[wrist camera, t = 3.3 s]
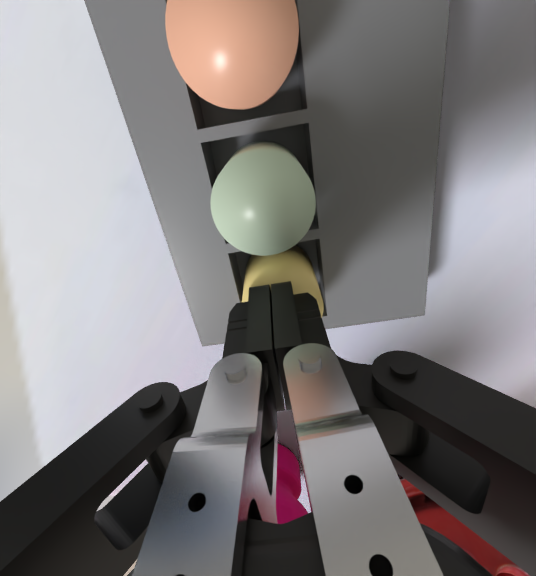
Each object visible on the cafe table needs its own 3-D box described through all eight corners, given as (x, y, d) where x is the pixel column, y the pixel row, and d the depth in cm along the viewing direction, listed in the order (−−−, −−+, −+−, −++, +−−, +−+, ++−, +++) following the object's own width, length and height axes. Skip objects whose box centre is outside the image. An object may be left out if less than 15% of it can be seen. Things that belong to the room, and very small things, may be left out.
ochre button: (309, 236, 13) (319, 267, 11) (316, 297, 15) (327, 337, 12) (239, 247, 14) (233, 280, 11) (252, 306, 15) (249, 347, 13)
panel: (424, -81, 10) (460, -124, 8) (406, 292, 16) (424, 315, 14) (105, -8, 10) (73, -33, 9) (208, 321, 17) (202, 346, 15)
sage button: (299, 133, 11) (309, 141, 8) (308, 218, 12) (320, 247, 10) (213, 149, 11) (197, 161, 9) (232, 231, 13) (224, 262, 10)
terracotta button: (282, -22, 9) (289, -76, 6) (295, 99, 10) (305, 96, 8) (179, 1, 9) (145, -42, 7) (206, 117, 11) (187, 119, 8)
